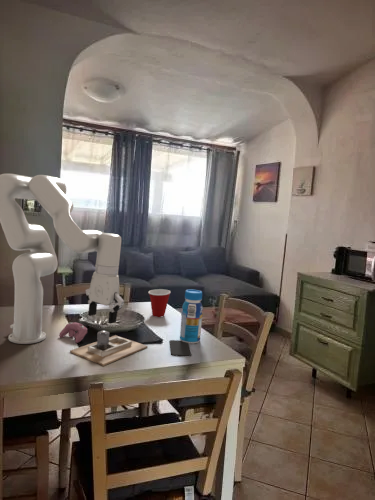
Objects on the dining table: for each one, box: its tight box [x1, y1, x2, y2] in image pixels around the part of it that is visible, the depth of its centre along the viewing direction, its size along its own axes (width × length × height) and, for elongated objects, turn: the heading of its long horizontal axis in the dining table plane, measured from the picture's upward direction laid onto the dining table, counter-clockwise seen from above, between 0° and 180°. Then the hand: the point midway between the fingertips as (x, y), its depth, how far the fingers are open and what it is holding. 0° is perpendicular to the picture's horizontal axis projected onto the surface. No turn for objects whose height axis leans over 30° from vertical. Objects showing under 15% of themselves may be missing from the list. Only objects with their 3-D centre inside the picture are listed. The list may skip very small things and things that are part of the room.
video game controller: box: [58, 321, 88, 344], centre depth 140 cm, size 10×5×7 cm, turn 61°
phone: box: [169, 339, 192, 357], centre depth 139 cm, size 7×1×15 cm
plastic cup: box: [148, 288, 171, 318], centre depth 179 cm, size 11×11×12 cm
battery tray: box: [69, 334, 148, 367], centre depth 132 cm, size 16×22×2 cm
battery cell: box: [96, 330, 110, 351], centre depth 128 cm, size 4×4×7 cm
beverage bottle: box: [179, 288, 204, 344], centre depth 147 cm, size 8×8×20 cm
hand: (101, 318), depth 128 cm, fingers open, 9 cm apart
